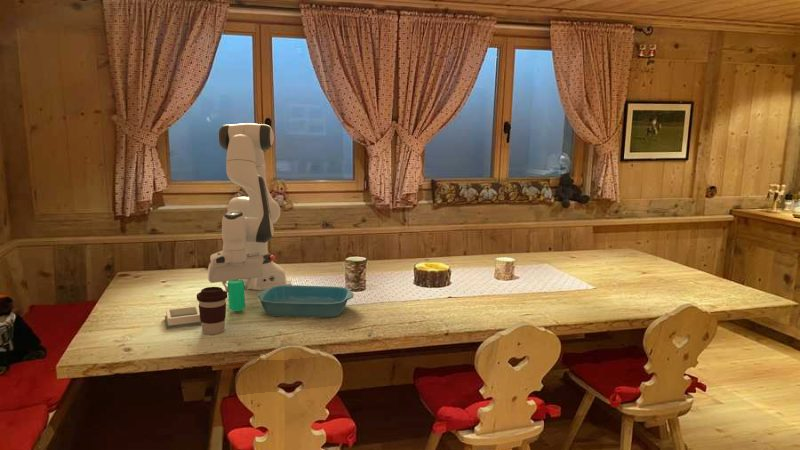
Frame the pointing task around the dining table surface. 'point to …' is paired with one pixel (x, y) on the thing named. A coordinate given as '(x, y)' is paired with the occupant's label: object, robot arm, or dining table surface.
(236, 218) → the robot arm
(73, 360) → the dining table surface
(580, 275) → the dining table surface
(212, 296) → the coffee cup
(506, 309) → the dining table surface
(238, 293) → the candle
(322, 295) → the casserole dish
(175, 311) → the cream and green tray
